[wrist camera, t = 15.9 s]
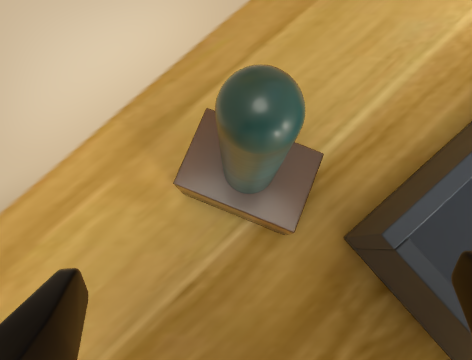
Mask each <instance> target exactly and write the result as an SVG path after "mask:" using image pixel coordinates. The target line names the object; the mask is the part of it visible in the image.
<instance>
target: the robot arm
mask: <svg viewBox="0 0 472 360" xmlns="http://www.w3.org/2000/svg"><path fill="white" fill-rule="evenodd" d="M451 280H452V285H453V287H454V290H455V293H456V295H457V298H458V300H459V303H460V305H461V308H462V311H463V313H464V316H465V318H466V321H467V324H468V326H469V329H470V331H471V334H472V251H464V252H462V253H461V254H460V256H459V259H458V261H457V263H456V265H455V268H454V270H453V272H452V277H451ZM87 304H88V290H87V288H86V285H85V282H84V280H83V277H82V275H81V272H80V271H79V270H78V269H76V268H72V269H61V270H59V271H57V272H56V273H55V274H54V275H53V276H52V277H51V278H49V279H48V280H47V281H46V282H45V283H44V284H43V285H42V286H41V287H40V288H39V289H37V290H36V291H35V292H34V293H33V294H32V295H31V296H30V297H29V298H28V299H27V300H26V301H24V302H23V303H22V304H21V305H20V306H19V307H18V308H17V309H16V310H15V311H14V312H13V313H11V314H10V315H9V316H8V317H7V318H6V319H5V320H4V321H3V322H2V323H1V324H0V360H77V357H78V352H79V347H80V341H81V336H82V331H83V325H84V320H85V315H86V309H87Z"/></svg>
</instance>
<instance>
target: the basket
mask: <svg viewBox="0 0 472 360" xmlns="http://www.w3.org/2000/svg"><path fill="white" fill-rule="evenodd" d="M344 239H345V240H346V241H347V242H348V243H349V245H350V246H351V247H352V248H353V249H354V250H355V251H356V252H357V254H358V255H359V256H360V257H361V258H362V259H363V260H364V261H365V263H366V264H367V265H368V266H369V267H370V268H371V269H372V270H373V272H374V273H375V274H376V275H377V276H378V277H379V278H380V279H381V281H382V282H383V283H384V284H385V285H386V286H387V287H388V288H389V289H390V291H391V292H392V293H393V294H394V295H395V296H396V297H397V298H398V300H399V301H400V302H401V303H402V304H403V305H404V306H405V307H406V309H407V310H408V311H409V312H410V313H411V314H412V315H413V316H414V318H415V319H416V320H417V321H418V322H419V323H420V324H421V325H422V327H423V328H424V329H425V330H426V331H427V332H428V333H429V334H430V336H431V337H432V338H433V339H434V340H435V341H436V342H437V343H438V345H439V346H440V347H441V348H442V349H443V350H444V351H445V352H446V354H447V355H448V356H449V357H450V358H451V359H452V360H472V334H471V331H470V329H469V326H468V324H467V321H466V318H465V316H464V313H463V311H462V308H461V305H460V303H459V300H458V298H457V295H456V293H455V290H454V287H453V285H452V280H451V277H452V272H453V270H454V268H455V265H456V263H457V261H458V259H459V256H460V254H461V253H462V252H464V251H472V122H471V123H470V124H468V125H467V126H466V127H465V128H464V129H463V130H462V131H461V132H460V133H459V134H457V135H456V136H455V137H454V138H453V139H452V140H451V141H450V142H449V143H447V144H446V145H445V146H444V147H443V148H442V149H441V150H440V151H439V152H437V153H436V154H435V155H434V156H433V157H432V158H431V159H430V160H429V161H427V162H426V163H425V164H424V165H423V166H422V167H421V168H420V169H419V170H417V171H416V172H415V173H414V174H413V175H412V176H411V177H410V178H409V179H407V180H406V181H405V182H404V183H403V184H402V185H401V186H400V187H399V188H397V189H396V190H395V191H394V192H393V193H392V194H391V195H390V196H389V197H388V198H386V199H385V200H384V201H383V202H382V203H381V204H380V205H379V206H378V207H376V208H375V209H374V210H373V211H372V212H371V213H370V214H369V215H368V216H366V217H365V218H364V219H363V220H362V221H361V222H360V223H359V224H358V225H356V226H355V227H354V228H353V229H352V230H351V231H350V232H349V233H348V234H346V235H345V236H344Z"/></svg>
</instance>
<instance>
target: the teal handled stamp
mask: <svg viewBox="0 0 472 360" xmlns="http://www.w3.org/2000/svg"><path fill="white" fill-rule="evenodd" d="M304 118H305V101H304V97H303V94H302V92H301V89H300V88H299V86H298V84H297V83H296V82H295V80H294V79H293V78H292V77H291V76H290V75H288V74H287V73H286V72H284V71H283V70H281V69H279V68H276V67H273V66H269V65H252V66H248V67H245V68H243V69H240V70H238V71H237V72H235V73H234V74H233V75H231V76H230V77H229V78H228V79H227V80H226V81H225V83H224V84H223V86H222V87H221V89H220V91H219V94H218V96H217V99H216V105H215V111H214V110H211V109H208V108H207V109H206V110H205V113H204V115H203V117H202V119H201V122H200V124H199V126H198V128H197V131H196V133H195V135H194V137H193V140H192V142H191V144H190V146H189V149H188V151H187V153H186V155H185V158H184V160H183V162H182V164H181V167H180V169H179V171H178V173H177V176H176V178H175V180H174V182H173V184H174V185H175V186H176V187H177V188H178V189H179V190H180V191H181V192H182V193H183V194H185V195H188V196H190V197H193V198H195V199H198V200H200V201H202V202H205V203H207V204H210V205H212V206H215V207H217V208H220V209H222V210H224V211H227V212H229V213H232V214H234V215H237V216H239V217H242V218H244V219H246V220H249V221H251V222H254V223H256V224H259V225H261V226H264V227H266V228H268V229H271V230H273V231H276V232H278V233H281V234H283V235H285V234H290V233H294V232H295V229H296V227H297V224H298V221H299V219H300V216H301V214H302V211H303V208H304V206H305V203H306V200H307V198H308V195H309V192H310V190H311V187H312V184H313V182H314V179H315V176H316V174H317V171H318V169H319V166H320V163H321V161H322V158H323V155H324V154H323V153H321V152H318V151H316V150H313V149H311V148H308V147H305V146H303V145H300V144H298V143H295V142H294V141H295V139H296V138H297V136H298V134H299V132H300V130H301V128H302V125H303V122H304Z"/></svg>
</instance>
